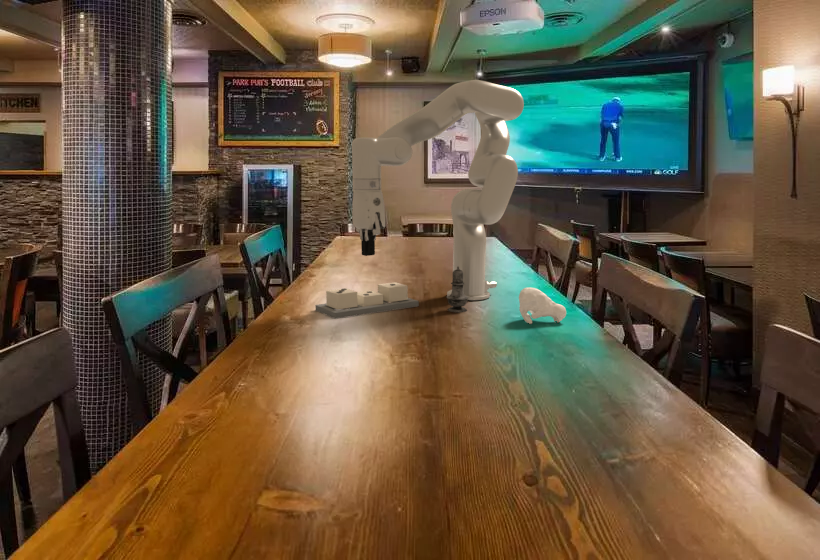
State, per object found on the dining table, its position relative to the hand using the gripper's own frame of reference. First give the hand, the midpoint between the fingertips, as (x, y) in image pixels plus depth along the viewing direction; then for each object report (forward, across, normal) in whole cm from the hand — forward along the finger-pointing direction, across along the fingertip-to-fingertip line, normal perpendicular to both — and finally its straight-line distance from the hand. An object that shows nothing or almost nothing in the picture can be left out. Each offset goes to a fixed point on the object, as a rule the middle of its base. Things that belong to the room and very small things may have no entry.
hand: (368, 255), depth 166 cm
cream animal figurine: (+15, -37, -28) cm, 49 cm away
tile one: (+13, 0, -8) cm, 15 cm away
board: (+15, 0, 0) cm, 15 cm away
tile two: (+15, 0, 0) cm, 15 cm away
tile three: (+13, 0, +8) cm, 15 cm away
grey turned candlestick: (+15, -15, -19) cm, 28 cm away
